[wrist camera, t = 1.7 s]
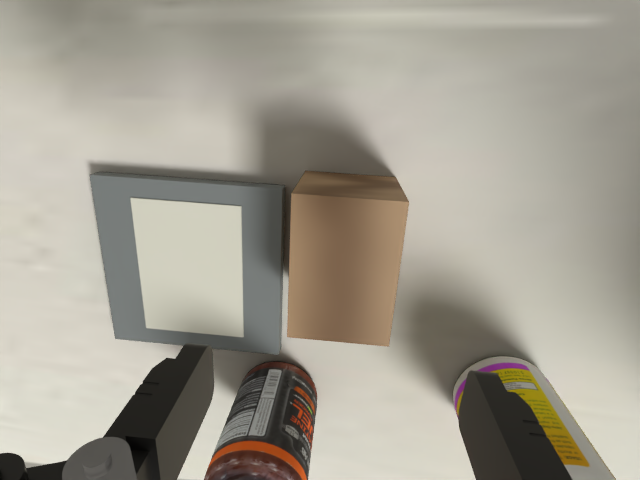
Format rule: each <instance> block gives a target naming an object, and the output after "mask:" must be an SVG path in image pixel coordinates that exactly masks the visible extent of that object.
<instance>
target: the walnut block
mask: <svg viewBox="0 0 640 480" xmlns="http://www.w3.org/2000/svg"><path fill="white" fill-rule="evenodd" d="M408 206H409V201H408V199H407V197H406V195H405V194H404V192H403V190H402V188H401V186H400V184H399V182H398V180H397V178H396V177H388V176H373V175H359V174H344V173H330V172H315V171H305V173H304V174H303V176H302V177H301V179H300V180H299V182H298V184H297V185H296V187H295V188H294V190H293V192H292V193H291V222H290V257H289V292H288V327H287V337H292V338H303V339H314V340H324V341H335V342H346V343H357V344H367V345H378V346H389V341H390V334H391V327H392V320H393V313H394V306H395V299H396V291H397V284H398V277H399V270H400V263H401V256H402V249H403V242H404V234H405V227H406V220H407V213H408Z"/></svg>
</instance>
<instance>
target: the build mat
mask: <svg viewBox="0 0 640 480" xmlns="http://www.w3.org/2000/svg"><path fill="white" fill-rule="evenodd" d="M90 181H91V188H92V194H93V200H94V207H95V213H96V219H97V226H98V232H99V239H100V245H101V251H102V258H103V264H104V270H105V277H106V283H107V289H108V296H109V302H110V308H111V315H112V321H113V328H114V334H115V339H123V340H133V341H143V342H153V343H163V344H174V345H185V344H186V343H193V344H203V345H211V347H212V348H214V349H225V350H235V351H245V352H255V353H265V354H275V355H279V352H280V348H281V330H282V290H283V249H284V208H285V185H272V184H259V183H245V182H231V181H218V180H204V179H191V178H177V177H164V176H150V175H137V174H123V173H110V172H97V173H94V174H90Z"/></svg>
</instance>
